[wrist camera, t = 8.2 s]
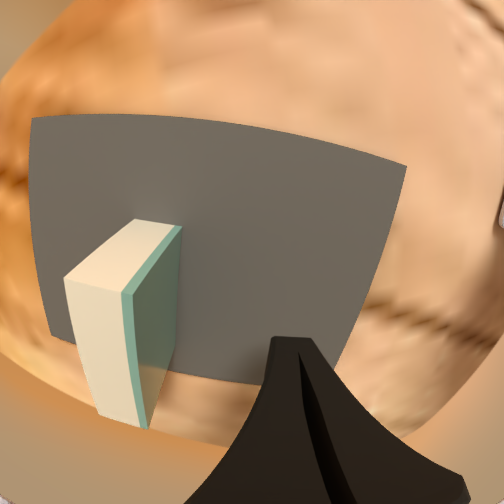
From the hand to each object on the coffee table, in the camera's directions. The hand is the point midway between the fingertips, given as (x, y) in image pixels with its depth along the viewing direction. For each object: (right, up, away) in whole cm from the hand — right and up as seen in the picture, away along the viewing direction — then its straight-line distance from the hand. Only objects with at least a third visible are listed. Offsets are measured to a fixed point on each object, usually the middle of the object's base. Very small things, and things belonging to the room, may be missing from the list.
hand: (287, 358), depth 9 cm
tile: (-5, +2, +3) cm, 6 cm away
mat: (-4, +3, +3) cm, 6 cm away
